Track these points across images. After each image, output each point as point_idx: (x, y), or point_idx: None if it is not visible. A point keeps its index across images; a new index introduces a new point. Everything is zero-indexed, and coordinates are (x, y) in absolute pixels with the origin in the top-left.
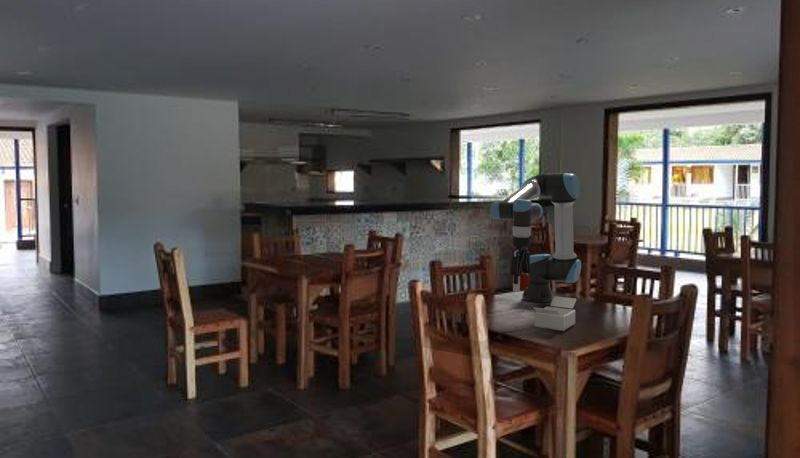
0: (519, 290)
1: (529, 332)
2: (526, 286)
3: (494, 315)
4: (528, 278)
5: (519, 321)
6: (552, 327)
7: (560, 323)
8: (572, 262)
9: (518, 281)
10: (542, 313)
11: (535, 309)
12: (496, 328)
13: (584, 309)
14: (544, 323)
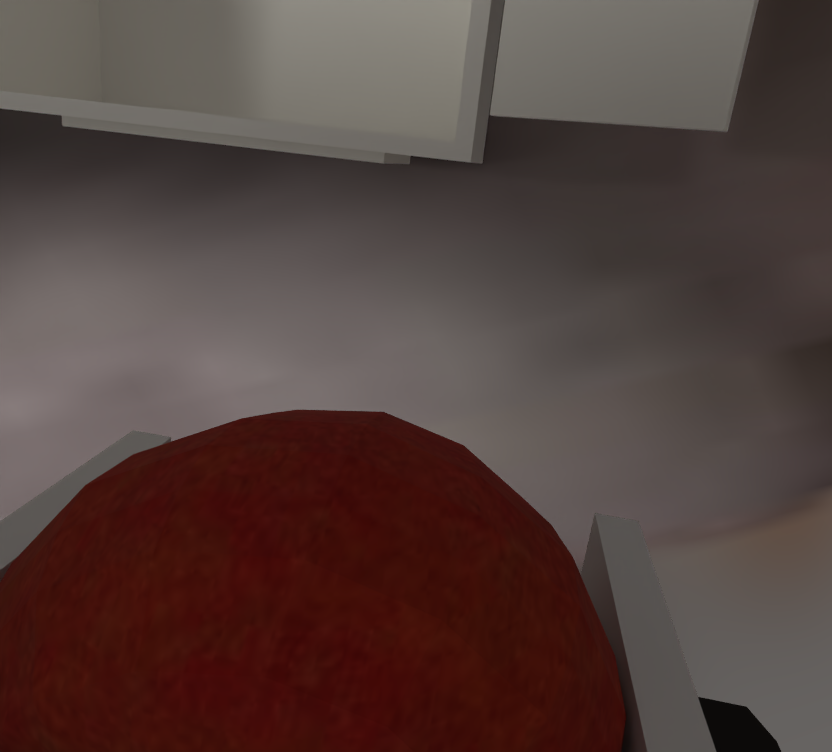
0: (618, 531)
1: (780, 148)
2: (432, 433)
3: None
4: (325, 501)
5: (319, 372)
6: None
7: None
8: None
9: (693, 734)
10: (470, 39)
11: (649, 106)
12: (726, 512)
13: None
14: (497, 23)
